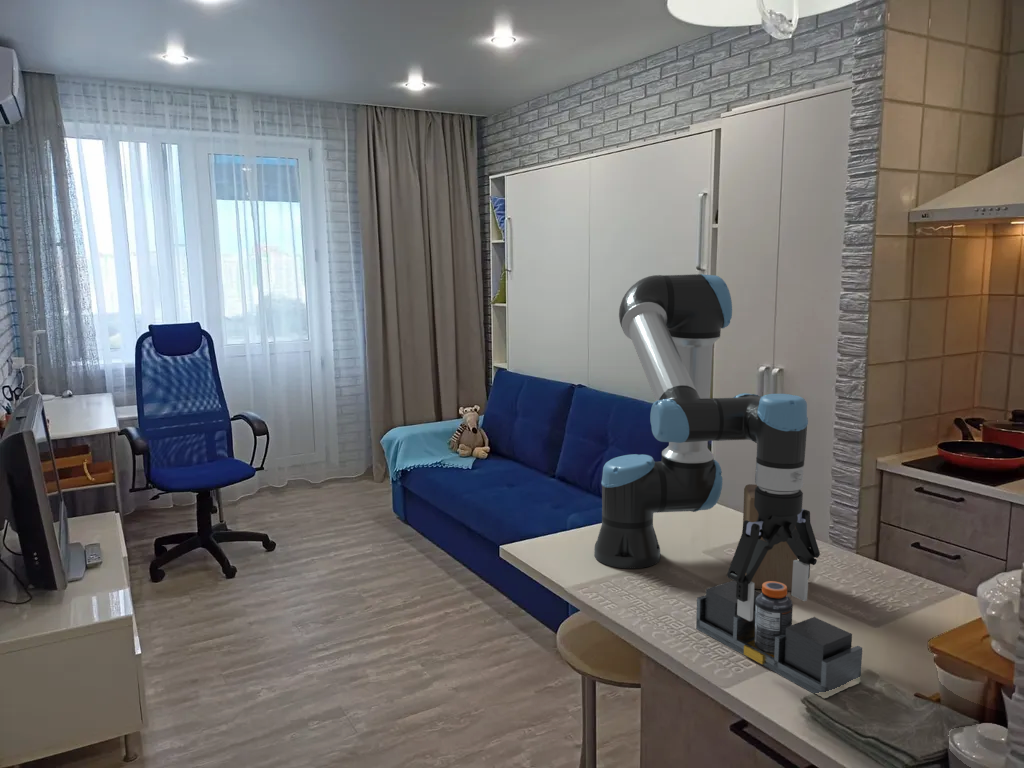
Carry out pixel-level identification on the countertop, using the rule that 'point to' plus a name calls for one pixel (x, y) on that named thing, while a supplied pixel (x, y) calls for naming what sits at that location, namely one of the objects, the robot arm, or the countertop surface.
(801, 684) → the rack
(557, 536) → the countertop surface
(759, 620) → the pill bottle
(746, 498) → the block
